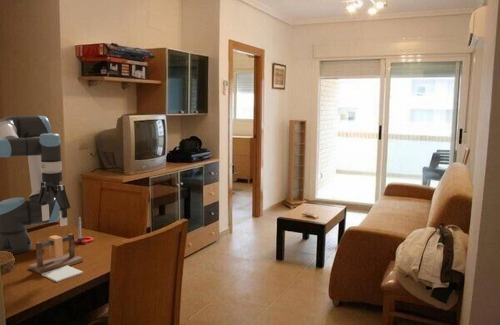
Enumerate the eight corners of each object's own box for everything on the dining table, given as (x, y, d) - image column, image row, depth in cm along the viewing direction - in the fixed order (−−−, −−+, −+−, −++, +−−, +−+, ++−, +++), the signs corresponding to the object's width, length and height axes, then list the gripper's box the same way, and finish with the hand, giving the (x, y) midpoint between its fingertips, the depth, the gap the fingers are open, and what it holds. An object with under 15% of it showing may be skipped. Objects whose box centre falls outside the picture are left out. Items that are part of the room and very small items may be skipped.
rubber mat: (41, 275, 169) (41, 273, 169) (67, 266, 178) (67, 265, 178) (56, 282, 163) (56, 280, 163) (83, 273, 172) (83, 271, 171)
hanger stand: (29, 268, 176) (27, 241, 174) (70, 256, 190) (68, 230, 188) (42, 274, 170) (40, 246, 168) (83, 261, 184) (82, 235, 183)
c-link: (49, 255, 180) (48, 236, 179) (56, 253, 182) (55, 235, 181) (56, 257, 177) (55, 239, 176) (63, 255, 179) (62, 237, 178)
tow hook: (81, 238, 216) (70, 243, 207) (81, 213, 215) (70, 217, 206) (96, 239, 215) (87, 244, 206) (96, 214, 214) (86, 218, 205)
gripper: (27, 170, 179) (30, 219, 181) (60, 175, 164) (62, 230, 167) (44, 168, 185) (47, 216, 188) (77, 173, 170) (80, 225, 173)
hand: (54, 222), depth 177 cm, fingers open, 13 cm apart
